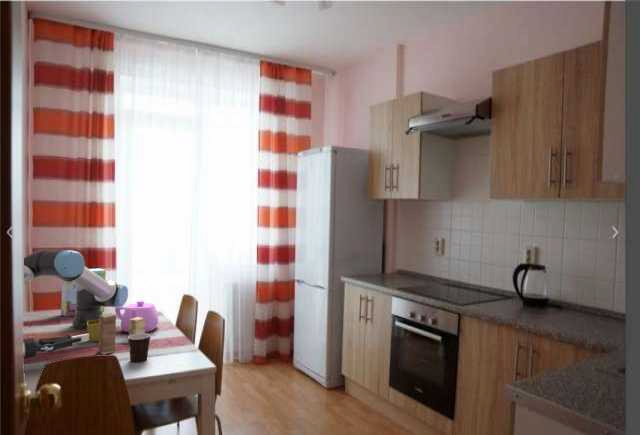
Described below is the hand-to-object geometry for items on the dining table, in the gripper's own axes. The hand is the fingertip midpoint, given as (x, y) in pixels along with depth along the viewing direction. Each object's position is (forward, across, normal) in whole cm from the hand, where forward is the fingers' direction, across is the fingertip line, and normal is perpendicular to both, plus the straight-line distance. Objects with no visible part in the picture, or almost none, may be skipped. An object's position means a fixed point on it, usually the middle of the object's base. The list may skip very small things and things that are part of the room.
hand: (88, 337), depth 181 cm
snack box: (+25, -78, -8) cm, 82 cm away
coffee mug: (+12, +21, -8) cm, 25 cm away
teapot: (+33, -22, -8) cm, 40 cm away
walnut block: (+8, 0, -8) cm, 11 cm away
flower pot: (+11, -19, -8) cm, 23 cm away
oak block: (+25, -8, -8) cm, 27 cm away
